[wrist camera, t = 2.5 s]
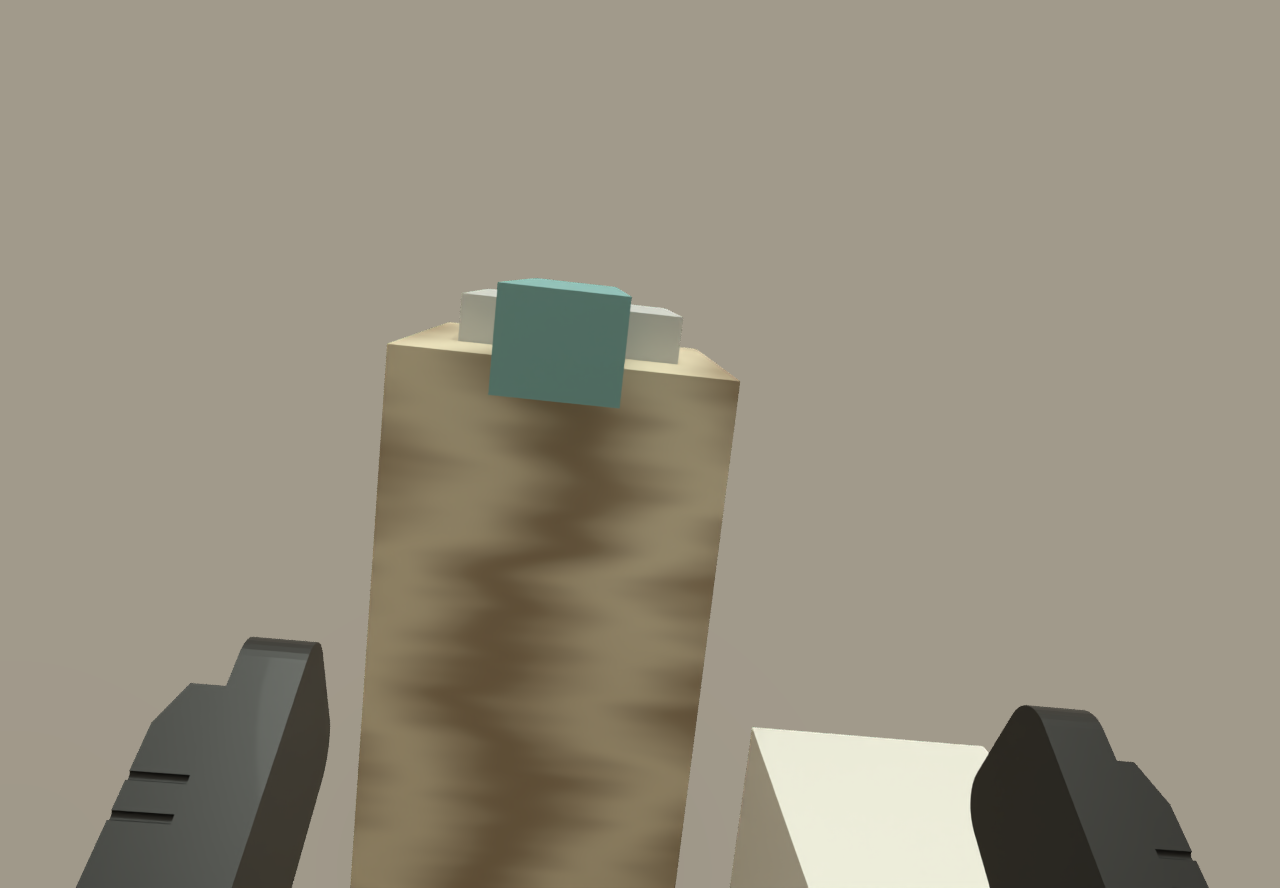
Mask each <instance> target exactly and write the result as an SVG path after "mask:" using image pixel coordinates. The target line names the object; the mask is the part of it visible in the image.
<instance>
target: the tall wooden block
mask: <svg viewBox="0 0 1280 888" xmlns="http://www.w3.org/2000/svg"><path fill="white" fill-rule="evenodd" d="M458 335H459V323H452V322H448V323H445V324H443V325H440V326H437V327H434V328H431V329H428V330H426V331H422V332H419V333H417V334H414V335H411V336H408V337H405V338H402V339H399V340H396V341H393V342H391V343H388V344H387V355H386V369H385V383H384V398H383V413H382V428H381V443H380V457H379V472H378V487H377V501H376V503H377V504H376V516H375V531H374V546H373V561H372V575H371V590H370V605H369V620H368V634H367V649H366V664H365V665H366V666H365V679H364V693H363V708H362V724H361V738H360V753H359V767H358V783H357V798H356V811H355V826H354V841H353V856H352V870H351V871H352V872H351V885H350V888H675V884H676V876H677V868H678V861H679V860H678V859H679V852H680V845H681V837H682V829H683V822H684V814H685V806H686V798H687V790H688V783H689V775H690V767H691V759H692V752H693V744H694V736H695V728H696V721H697V713H698V705H699V697H700V689H701V682H702V674H703V666H704V657H705V650H706V643H707V635H708V627H709V619H710V611H711V604H712V596H713V587H714V580H715V572H716V565H717V557H718V549H719V542H720V533H721V526H722V518H723V511H724V503H725V495H726V486H727V479H728V472H729V464H730V456H731V448H732V440H733V432H734V425H735V417H736V409H737V402H738V394H739V386H740V381H739V380H738V379H736V378H735V377H733V376H732V375H731V374H730V373H728V372H727V371H726V370H724V369H722V368H721V367H720V366H719V365H717V364H716V363H715V362H713V361H712V360H711V359H709V358H708V357H707V356H705V355H704V354H703V353H701V352H700V351H698V350H697V349H692V348H682V347H680V349H679V358H678V364H669V363H660V362H651V361H641V360H632V359H625V364H624V373H623V382H622V391H621V400H620V408H610V407H600V406H591V405H581V404H572V403H562V402H552V401H543V400H533V399H523V398H514V397H504V396H494V395H488V391H489V379H490V367H491V355H492V344H483V343H473V342H464V341H458Z"/></svg>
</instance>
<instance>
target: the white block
mask: <svg viewBox="0 0 1280 888" xmlns="http://www.w3.org/2000/svg"><path fill="white" fill-rule="evenodd" d="M988 754H989V753H988V752H987V751H986V749H985V748H984V747H983V746H972V745H960V744H947V743H935V742H924V741H911V740H900V739H888V738H876V737H864V736H852V735H840V734H828V733H816V732H804V731H792V730H779V729H767V728H754V727H752V732H751V739H750V746H749V754H748V761H747V768H746V775H745V783H744V791H743V797H742V805H741V811H740V818H739V826H738V833H737V840H736V847H735V855H734V862H733V869H732V876H731V883H730V888H990V887H989V883H988V880H987V876H986V873H985V869H984V866H983V862H982V859H981V855H980V852H979V848H978V845H977V841H976V838H975V834H974V830H973V826H972V821H971V812H970V798H971V789H972V784H973V781H974V778H975V776H976V774H977V772H978V770H979V769H980V767H981V765H982V764H983V762H984V760H985V759H986V757H987V756H988Z"/></svg>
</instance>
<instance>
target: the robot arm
mask: <svg viewBox="0 0 1280 888" xmlns="http://www.w3.org/2000/svg"><path fill="white" fill-rule="evenodd" d="M329 736H330V718H329V709H328V699H327V690H326V680H325V670H324V661H323V652H322V647H321V644H320V643H318V642H307V641H295V640H283V639H272V638H259V637H250V638H249V639H248V640H247V641H246V642H245V643H244V645H243V647H242V649H241V651H240V653H239V656H238V658H237V660H236V663H235V665H234V668H233V670H232V673H231V675H230V678H229V680H228V683H227V685H226V686H219V685H207V684H193V683H190V684H189V685H188V686H187V687H186V688H185V689H184V690H183V691H182V692H181V693H180V694H179V695H178V696H177V697H176V699H174V700H173V701H172V703H171V704H169V706H168V707H167V708H166V709H165V710H164V711H163V712H162V713H161V714H160V715H159V716H158V717H157V718H156V719H155V720H154V721H153V722H152V723H151V725H150V727H149V729H148V731H147V734H146V736H145V738H144V740H143V742H142V745H141V747H140V749H139V751H138V753H137V755H136V758H135V760H134V762H133V764H132V766H131V769H130V775H129V778H128V780H125V782H124V784H123V786H122V788H121V790H120V793H119V795H118V797H117V799H116V801H115V803H114V806H113V808H112V814H111V817H110V819H109V820H107V821H106V823H105V826H104V828H103V830H102V832H101V834H100V836H99V838H98V841H97V843H96V845H95V847H94V850H93V852H92V854H91V856H90V858H89V860H88V862H87V864H86V867H85V869H84V871H83V873H82V875H81V878H80V880H79V882H78V884H77V886H76V888H292V884H293V881H294V877H295V874H296V870H297V866H298V863H299V859H300V856H301V852H302V849H303V845H304V842H305V838H306V834H307V831H308V828H309V824H310V821H311V817H312V814H313V810H314V806H315V803H316V799H317V796H318V792H319V789H320V785H321V782H322V778H323V774H324V770H325V765H326V760H327V753H328V747H329ZM970 812H971V821H972V826H973V830H974V834H975V838H976V841H977V845H978V848H979V852H980V855H981V859H982V862H983V866H984V869H985V873H986V876H987V880H988V883H989V887H990V888H1208V885H1207V883H1206V881H1205V879H1204V877H1203V875H1202V873H1201V870H1200V868H1199V866H1198V864H1197V862H1196V861H1193V860H1192V858H1191V852H1192V851H1191V849H1190V847H1189V844H1188V842H1187V840H1186V838H1185V836H1184V834H1183V831H1182V829H1181V827H1180V825H1179V823H1178V821H1177V819H1176V816H1175V814H1174V812H1173V810H1172V808H1171V806H1170V804H1169V803H1168V802H1167V800H1166V799H1165V798H1164V797H1163V796H1162V795H1161V793H1160V792H1159V791H1158V790H1157V789H1156V788H1155V786H1154V785H1153V784H1152V783H1151V782H1150V780H1149V779H1148V778H1147V777H1146V776H1145V775H1144V773H1143V772H1142V771H1141V770H1140V769H1139V768H1138V766H1137V765H1136V764H1135V763H1134V762H1123V761H1117V760H1116V758H1115V756H1114V753H1113V751H1112V749H1111V746H1110V744H1109V742H1108V739H1107V737H1106V735H1105V733H1104V730H1103V728H1102V726H1101V724H1100V723H1099V721H1098V720H1097V719H1096V717H1095V716H1094V715H1093V714H1091V713H1090V712H1088V711H1085V710H1075V709H1063V708H1051V707H1039V706H1027V705H1024V706H1021V707H1019V708H1018V709H1017V710H1015V712H1014V713H1013V715H1012V716H1011V718H1010V720H1009V721H1008V723H1007V724H1006V726H1005V728H1004V729H1003V731H1002V733H1001V734H1000V736H999V738H998V739H997V741H996V742H995V744H994V746H993V747H992V749H991V751H990V752H989V754H988V756H987V757H986V759H985V760H984V762H983V764H982V765H981V767H980V769H979V770H978V772H977V774H976V776H975V778H974V781H973V784H972V789H971V798H970Z"/></svg>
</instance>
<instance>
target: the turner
mask: <svg viewBox="0 0 1280 888" xmlns="http://www.w3.org/2000/svg"><path fill="white" fill-rule="evenodd" d="M631 299H632V297H631V296H629V295H628V294H626V293H625V292H623V291H621V290H620V289H618V288H617V287H610V286H601V285H592V284H583V283H574V282H565V281H556V280H548V279H539V278H533V279H524V280H514V281H504V282H498V286H497V290H494V289H484V290H478V291H472V292H465V293H462V298H461V311H460V323H459V335H458V341H464V342H473V343H483V344H492V355H491V367H490V379H489V391H488V395H494V396H504V397H514V398H523V399H533V400H543V401H552V402H562V403H572V404H581V405H591V406H600V407H610V408H620V400H621V391H622V382H623V373H624V364H625V359H632V360H641V361H651V362H660V363H669V364H678V358H679V349H680V341H681V332H682V324H683V317H681V316H679V315H677V314H675V313H673V312H671V311H669V310H667V309H665V308H657V307H648V306H638V305H631Z"/></svg>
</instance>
